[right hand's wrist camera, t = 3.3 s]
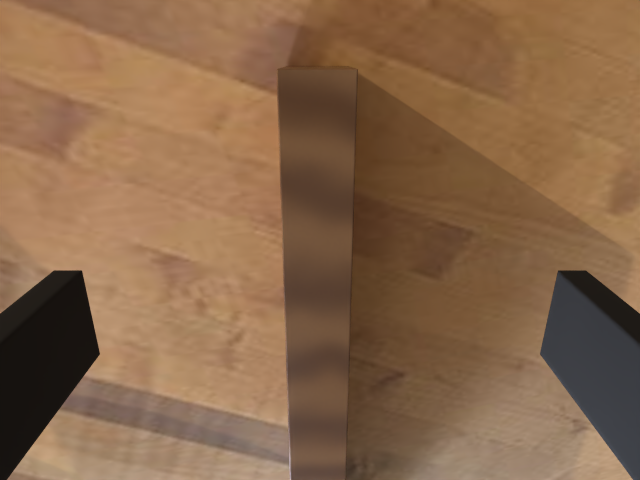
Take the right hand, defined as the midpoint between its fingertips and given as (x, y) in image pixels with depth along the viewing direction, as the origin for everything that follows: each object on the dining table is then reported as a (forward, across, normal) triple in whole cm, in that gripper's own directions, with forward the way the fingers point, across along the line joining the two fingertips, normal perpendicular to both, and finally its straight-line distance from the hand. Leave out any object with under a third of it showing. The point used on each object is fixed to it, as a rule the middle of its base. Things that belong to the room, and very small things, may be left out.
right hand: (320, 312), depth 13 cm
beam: (+24, 0, -20) cm, 31 cm away
